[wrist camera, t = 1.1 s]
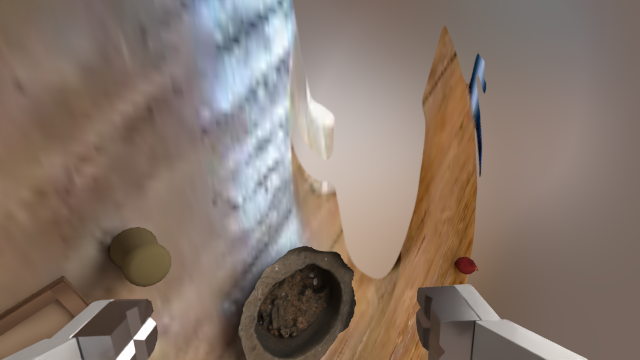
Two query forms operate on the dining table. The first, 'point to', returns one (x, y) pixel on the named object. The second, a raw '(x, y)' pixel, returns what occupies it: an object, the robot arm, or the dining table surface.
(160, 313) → the dining table surface
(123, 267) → the cork
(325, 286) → the stone bowl
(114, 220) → the dining table surface
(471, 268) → the onion
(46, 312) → the walnut socket block
